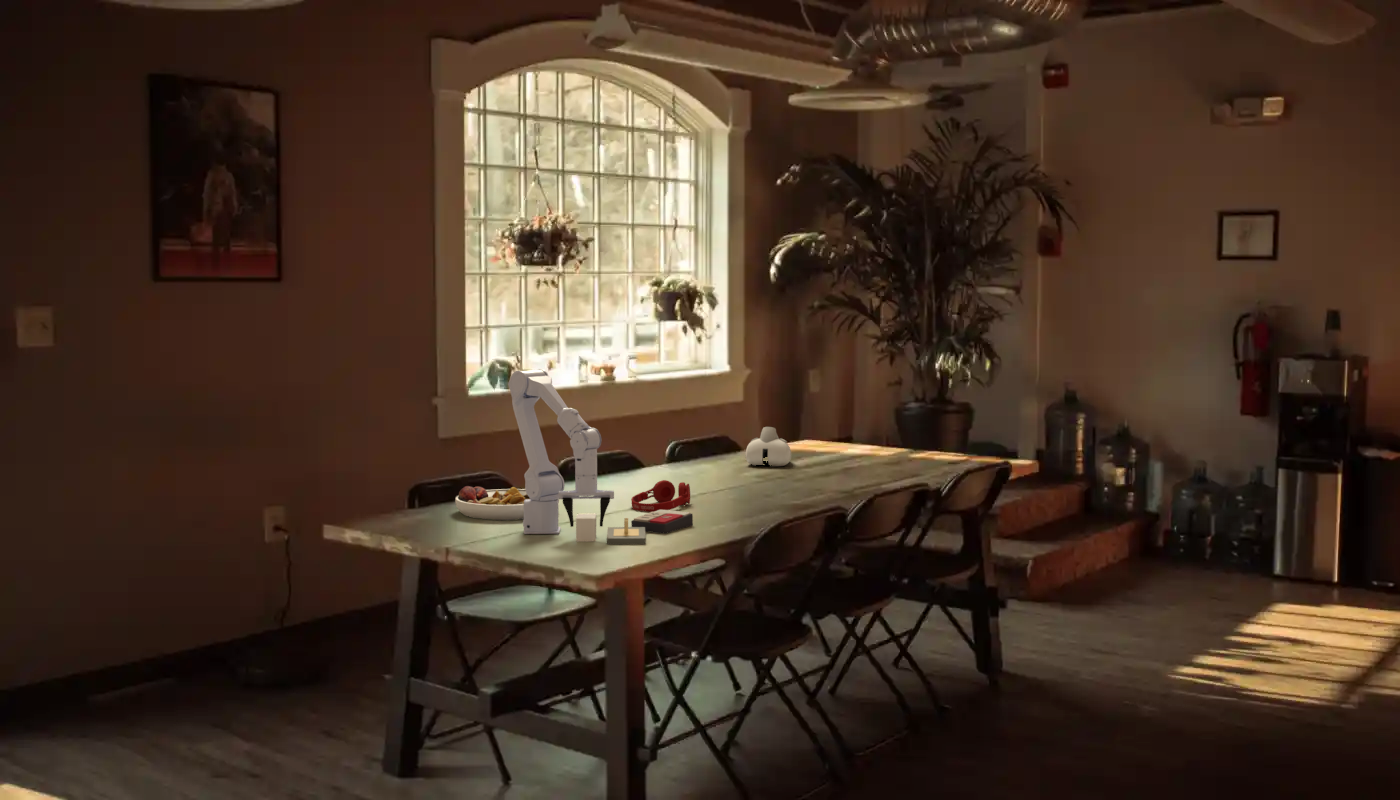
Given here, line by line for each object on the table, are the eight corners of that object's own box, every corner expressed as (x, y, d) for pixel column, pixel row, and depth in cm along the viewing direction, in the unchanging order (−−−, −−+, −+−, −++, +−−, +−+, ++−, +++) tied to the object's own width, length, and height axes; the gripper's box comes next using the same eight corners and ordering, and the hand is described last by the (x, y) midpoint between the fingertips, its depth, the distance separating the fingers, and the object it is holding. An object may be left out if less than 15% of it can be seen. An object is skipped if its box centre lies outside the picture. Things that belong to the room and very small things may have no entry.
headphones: (661, 498, 423) (622, 516, 407) (659, 476, 421) (620, 493, 405) (701, 503, 415) (663, 521, 399) (699, 480, 413) (661, 498, 397)
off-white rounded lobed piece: (813, 465, 502) (814, 426, 501) (763, 470, 489) (764, 430, 488) (777, 459, 520) (777, 421, 519) (728, 463, 507) (728, 424, 506)
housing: (576, 541, 355) (576, 518, 355) (577, 535, 363) (577, 513, 363) (595, 541, 355) (595, 518, 355) (596, 535, 363) (596, 513, 363)
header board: (606, 544, 352) (606, 525, 351) (607, 532, 367) (607, 514, 367) (645, 544, 352) (645, 524, 352) (645, 532, 368) (645, 514, 367)
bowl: (566, 505, 413) (566, 480, 412) (549, 523, 383) (549, 495, 382) (469, 504, 415) (468, 478, 414) (444, 521, 385) (443, 494, 384)
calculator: (630, 518, 371) (659, 507, 384) (631, 533, 372) (659, 522, 385) (664, 521, 366) (693, 510, 379) (665, 537, 367) (693, 525, 379)
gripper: (557, 477, 353) (558, 528, 355) (613, 476, 354) (613, 528, 355) (559, 473, 360) (559, 524, 362) (614, 472, 361) (614, 523, 362)
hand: (586, 525), depth 359 cm, fingers open, 7 cm apart
